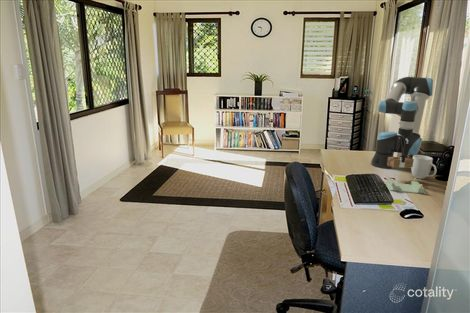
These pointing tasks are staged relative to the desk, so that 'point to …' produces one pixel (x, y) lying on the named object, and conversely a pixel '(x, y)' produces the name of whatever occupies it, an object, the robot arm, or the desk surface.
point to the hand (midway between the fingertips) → (399, 165)
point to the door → (395, 162)
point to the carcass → (405, 186)
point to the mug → (422, 166)
